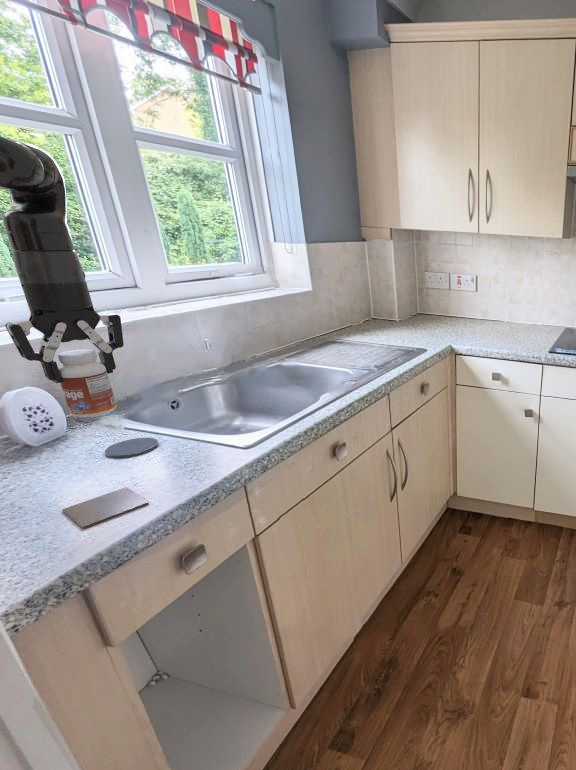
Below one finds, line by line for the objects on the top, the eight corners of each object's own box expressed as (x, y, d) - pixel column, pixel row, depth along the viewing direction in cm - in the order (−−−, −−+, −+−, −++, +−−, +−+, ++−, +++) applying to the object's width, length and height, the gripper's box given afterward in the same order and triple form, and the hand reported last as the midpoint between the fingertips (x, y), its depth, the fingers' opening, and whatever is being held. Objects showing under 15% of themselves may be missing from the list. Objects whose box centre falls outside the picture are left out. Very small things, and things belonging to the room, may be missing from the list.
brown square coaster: (82, 529, 74) (82, 527, 74) (62, 511, 78) (61, 509, 78) (149, 504, 81) (148, 502, 81) (127, 488, 85) (126, 486, 85)
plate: (115, 462, 94) (114, 459, 94) (98, 450, 99) (97, 448, 98) (166, 446, 102) (165, 444, 101) (147, 436, 106) (147, 434, 106)
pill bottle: (61, 415, 79) (41, 354, 76) (102, 404, 85) (84, 346, 81) (86, 420, 78) (66, 358, 74) (126, 408, 83) (109, 350, 80)
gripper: (100, 275, 81) (124, 364, 87) (-20, 279, 69) (17, 383, 75) (119, 278, 78) (143, 372, 83) (-5, 284, 66) (34, 392, 72)
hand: (83, 376), depth 79 cm, fingers closed on pill bottle, 6 cm apart
